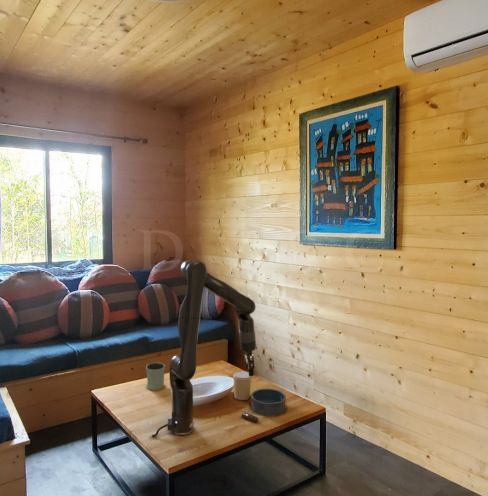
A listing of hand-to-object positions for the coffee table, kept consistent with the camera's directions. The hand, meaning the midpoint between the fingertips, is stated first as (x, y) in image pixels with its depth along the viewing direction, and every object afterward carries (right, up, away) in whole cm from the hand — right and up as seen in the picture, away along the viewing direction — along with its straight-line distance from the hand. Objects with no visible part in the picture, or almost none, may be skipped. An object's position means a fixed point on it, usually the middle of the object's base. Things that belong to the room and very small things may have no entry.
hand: (249, 371), depth 201 cm
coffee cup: (-3, -19, +19) cm, 26 cm away
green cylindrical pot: (-49, -17, +30) cm, 60 cm away
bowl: (+10, -20, +7) cm, 23 cm away
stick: (0, -21, -5) cm, 21 cm away
